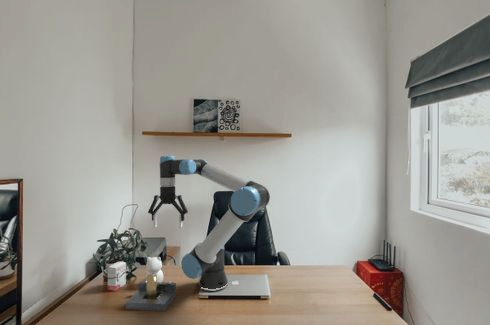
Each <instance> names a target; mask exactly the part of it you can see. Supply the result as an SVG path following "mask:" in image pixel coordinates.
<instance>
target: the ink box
mask: <svg viewBox="0 0 490 325" xmlns="http://www.w3.org/2000/svg"><path fill="white" fill-rule="evenodd" d="M126 282H127V262H124V261H117V262H115V263H113V264H111V265H108V267H107V291H111V292H112V291H114V292H116V291H117V290H120V289H121V287H123V286H125V285H126V284H127V283H126Z"/></svg>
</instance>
